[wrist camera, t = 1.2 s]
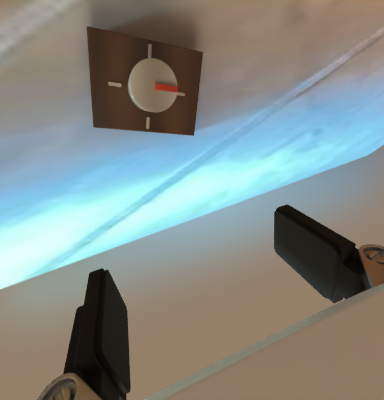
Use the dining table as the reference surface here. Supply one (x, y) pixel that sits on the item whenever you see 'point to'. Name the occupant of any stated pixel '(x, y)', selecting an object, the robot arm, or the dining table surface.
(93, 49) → the dial panel
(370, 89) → the dining table surface
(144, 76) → the dial
